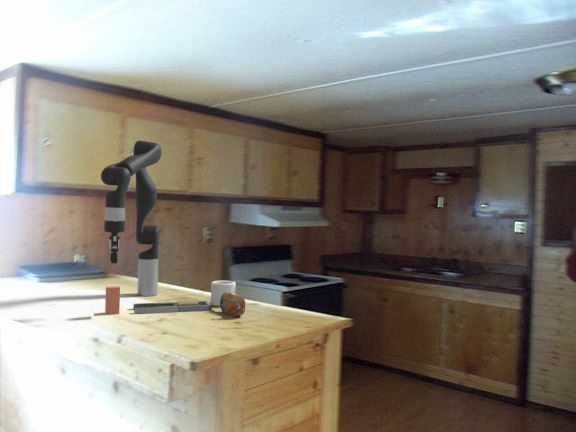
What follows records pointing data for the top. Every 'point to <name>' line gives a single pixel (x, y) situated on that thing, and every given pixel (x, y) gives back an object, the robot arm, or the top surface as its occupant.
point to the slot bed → (155, 307)
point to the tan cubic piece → (182, 302)
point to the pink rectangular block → (112, 300)
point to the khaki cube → (192, 302)
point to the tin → (232, 304)
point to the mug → (221, 290)
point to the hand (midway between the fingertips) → (113, 261)
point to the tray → (195, 307)
